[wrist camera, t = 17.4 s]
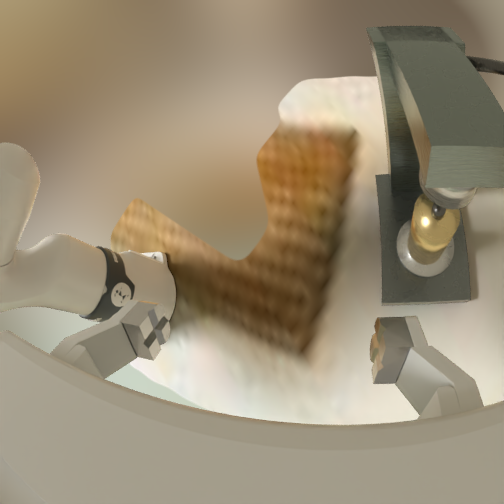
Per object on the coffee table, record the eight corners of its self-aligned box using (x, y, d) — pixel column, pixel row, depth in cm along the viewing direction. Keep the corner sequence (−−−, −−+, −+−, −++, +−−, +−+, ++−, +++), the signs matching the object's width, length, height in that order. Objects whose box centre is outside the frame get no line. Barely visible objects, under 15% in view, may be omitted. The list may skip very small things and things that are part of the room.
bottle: (404, 261, 29) (413, 228, 21) (409, 224, 30) (415, 180, 22) (441, 267, 27) (463, 237, 18) (444, 229, 28) (462, 188, 19)
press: (510, 298, 23) (628, 221, 1) (381, 305, 31) (383, 223, 10) (489, 179, 28) (528, 43, 7) (376, 182, 37) (343, 30, 16)
